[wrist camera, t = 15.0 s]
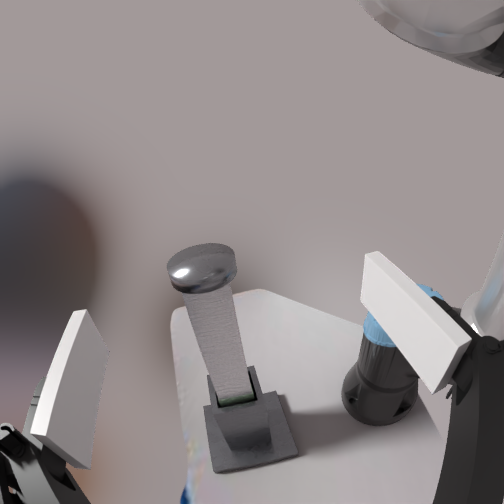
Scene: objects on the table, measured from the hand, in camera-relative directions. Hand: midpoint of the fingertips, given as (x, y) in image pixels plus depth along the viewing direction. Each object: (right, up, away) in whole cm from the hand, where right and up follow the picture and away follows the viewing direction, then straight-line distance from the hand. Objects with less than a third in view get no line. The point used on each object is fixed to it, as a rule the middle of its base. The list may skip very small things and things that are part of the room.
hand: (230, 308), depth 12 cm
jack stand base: (0, -29, +30) cm, 42 cm away
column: (-1, -22, +27) cm, 35 cm away
